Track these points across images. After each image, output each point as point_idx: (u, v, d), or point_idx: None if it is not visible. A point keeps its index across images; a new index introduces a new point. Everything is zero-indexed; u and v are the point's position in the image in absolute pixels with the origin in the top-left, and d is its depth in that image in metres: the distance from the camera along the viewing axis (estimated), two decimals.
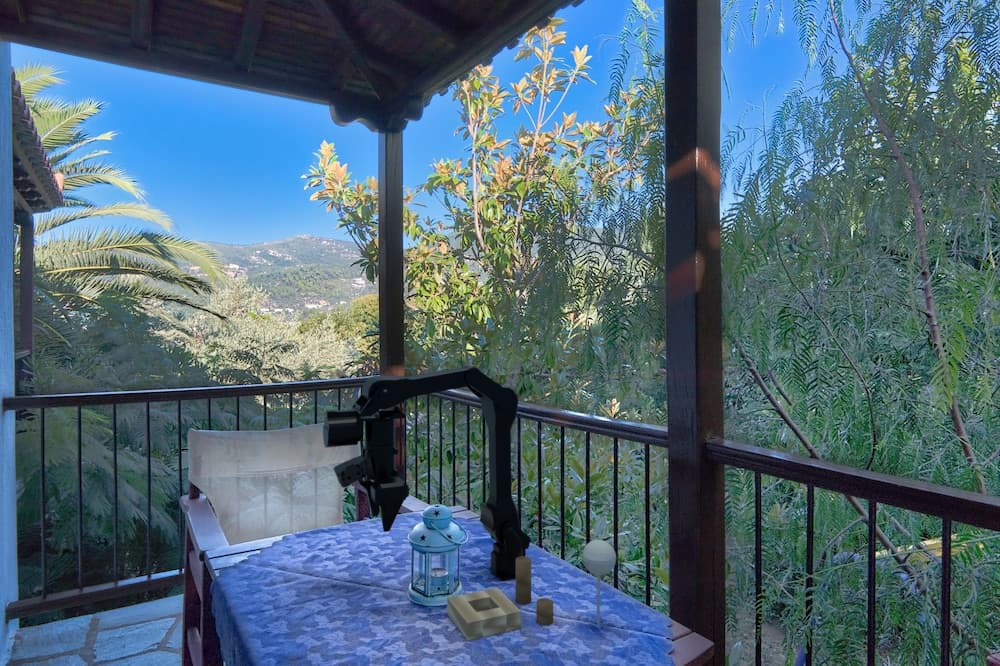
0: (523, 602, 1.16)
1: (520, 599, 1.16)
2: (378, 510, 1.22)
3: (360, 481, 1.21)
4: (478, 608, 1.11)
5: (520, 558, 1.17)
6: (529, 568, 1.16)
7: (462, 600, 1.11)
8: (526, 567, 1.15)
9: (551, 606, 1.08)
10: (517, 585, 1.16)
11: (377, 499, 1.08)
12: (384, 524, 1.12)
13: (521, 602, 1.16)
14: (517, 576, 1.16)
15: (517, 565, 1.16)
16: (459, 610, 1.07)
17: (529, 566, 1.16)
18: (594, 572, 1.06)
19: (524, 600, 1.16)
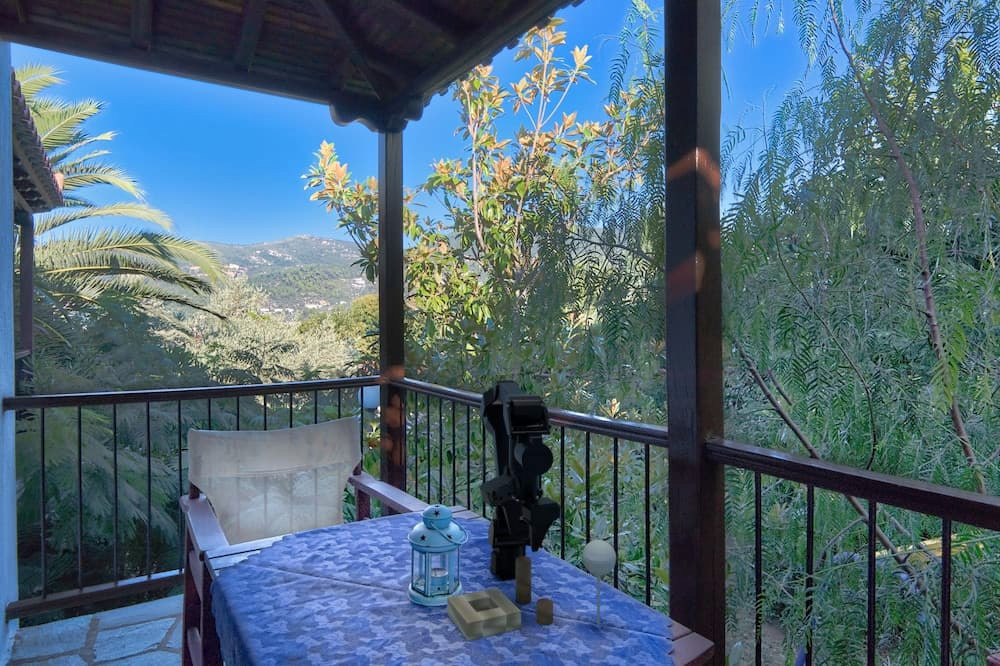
0: (523, 602, 1.16)
1: (520, 599, 1.16)
2: (516, 528, 1.21)
3: None
4: (478, 608, 1.11)
5: (520, 558, 1.17)
6: (529, 568, 1.16)
7: (462, 600, 1.11)
8: (526, 567, 1.15)
9: (551, 606, 1.08)
10: (517, 585, 1.16)
11: (533, 520, 1.07)
12: (533, 544, 1.12)
13: (521, 602, 1.16)
14: (517, 576, 1.16)
15: (517, 565, 1.16)
16: (459, 610, 1.07)
17: (529, 566, 1.16)
18: (594, 572, 1.06)
19: (524, 600, 1.16)
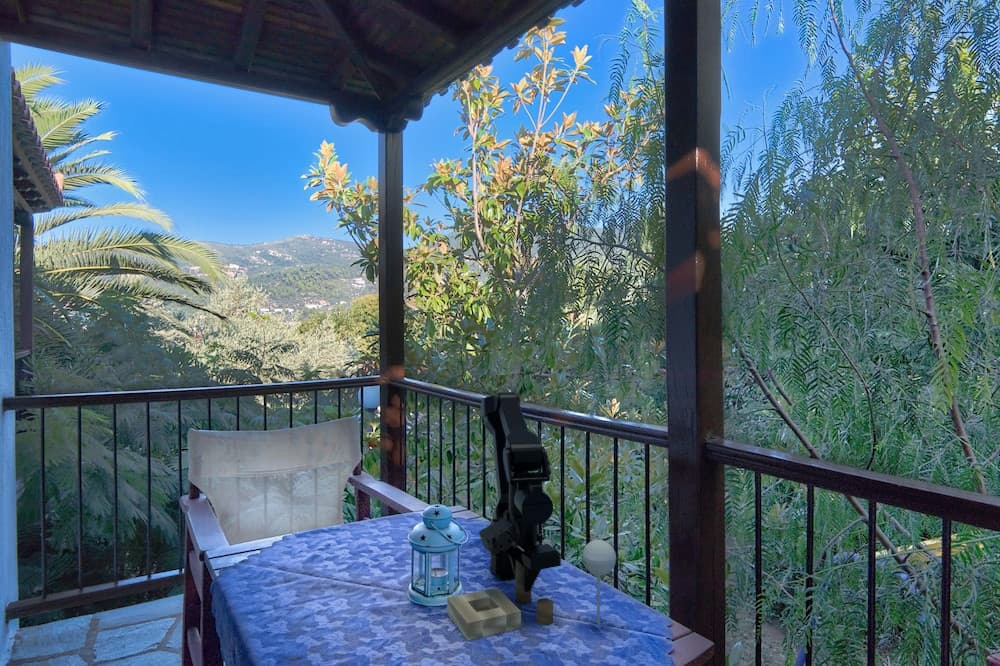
0: (523, 602, 1.15)
1: (520, 599, 1.16)
2: None
3: (504, 548, 1.18)
4: (478, 608, 1.11)
5: None
6: None
7: (462, 600, 1.11)
8: None
9: (551, 606, 1.08)
10: (517, 585, 1.16)
11: (533, 569, 1.07)
12: (526, 585, 1.15)
13: (521, 602, 1.16)
14: (517, 576, 1.16)
15: (517, 565, 1.16)
16: (459, 610, 1.07)
17: None
18: (594, 572, 1.06)
19: (524, 600, 1.16)
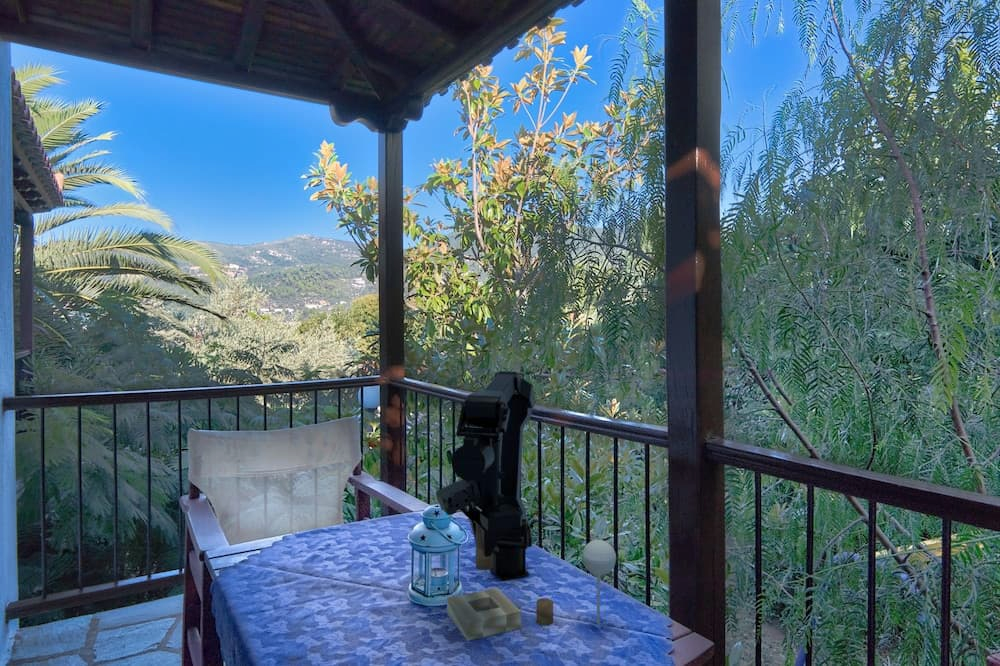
0: (483, 568, 1.07)
1: (480, 564, 1.08)
2: None
3: (464, 511, 1.10)
4: (478, 608, 1.11)
5: None
6: None
7: (462, 600, 1.11)
8: None
9: (551, 606, 1.08)
10: (477, 549, 1.08)
11: (491, 529, 0.99)
12: (486, 549, 1.06)
13: (481, 568, 1.07)
14: (477, 540, 1.08)
15: (477, 528, 1.08)
16: (459, 610, 1.07)
17: None
18: (594, 572, 1.06)
19: (484, 565, 1.07)
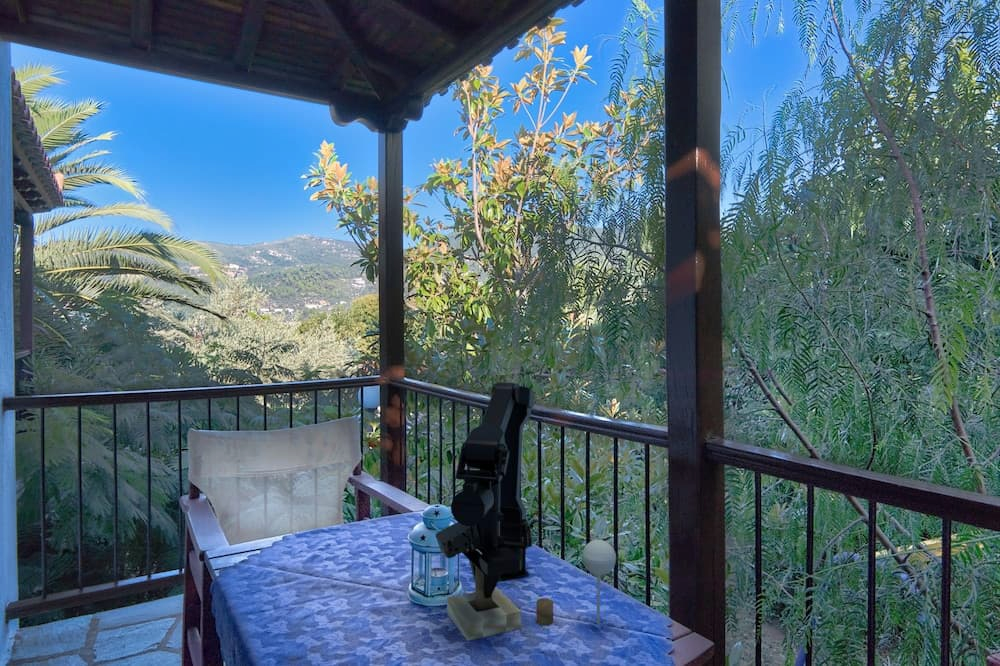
0: (483, 609, 1.08)
1: (480, 606, 1.08)
2: None
3: (464, 551, 1.10)
4: None
5: None
6: None
7: (462, 600, 1.11)
8: None
9: (551, 606, 1.08)
10: (477, 591, 1.08)
11: (490, 574, 0.99)
12: (485, 591, 1.07)
13: (481, 609, 1.08)
14: (477, 581, 1.08)
15: (477, 569, 1.08)
16: (459, 610, 1.07)
17: None
18: (594, 572, 1.06)
19: (484, 607, 1.08)
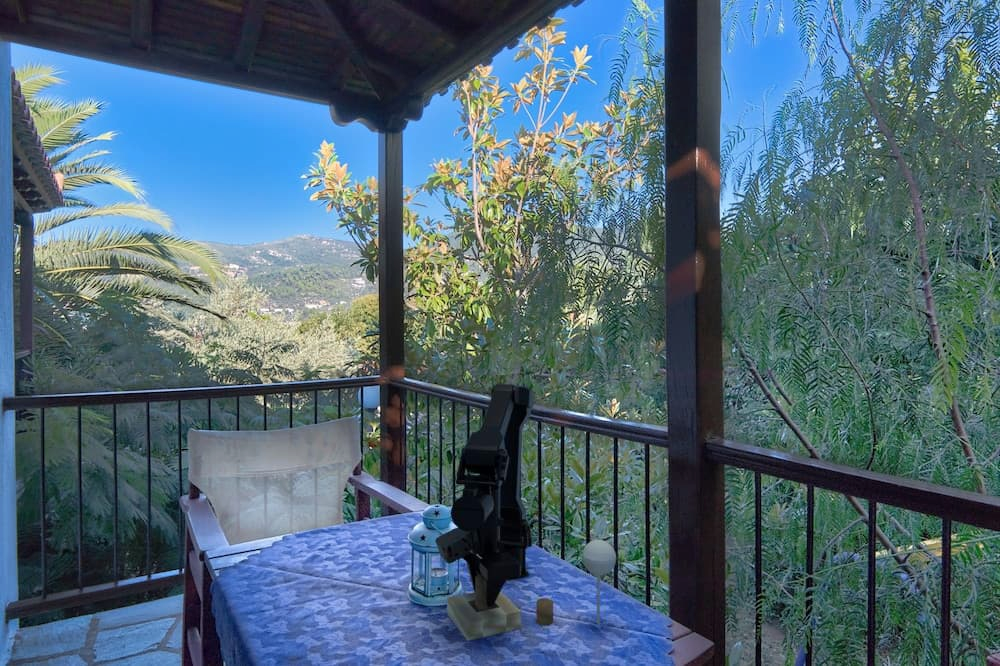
0: None
1: None
2: None
3: None
4: None
5: None
6: None
7: (462, 600, 1.11)
8: None
9: (551, 606, 1.08)
10: (477, 604, 1.08)
11: (490, 579, 0.99)
12: (488, 599, 1.06)
13: None
14: (477, 595, 1.08)
15: (477, 583, 1.08)
16: (459, 610, 1.07)
17: None
18: (594, 572, 1.06)
19: None
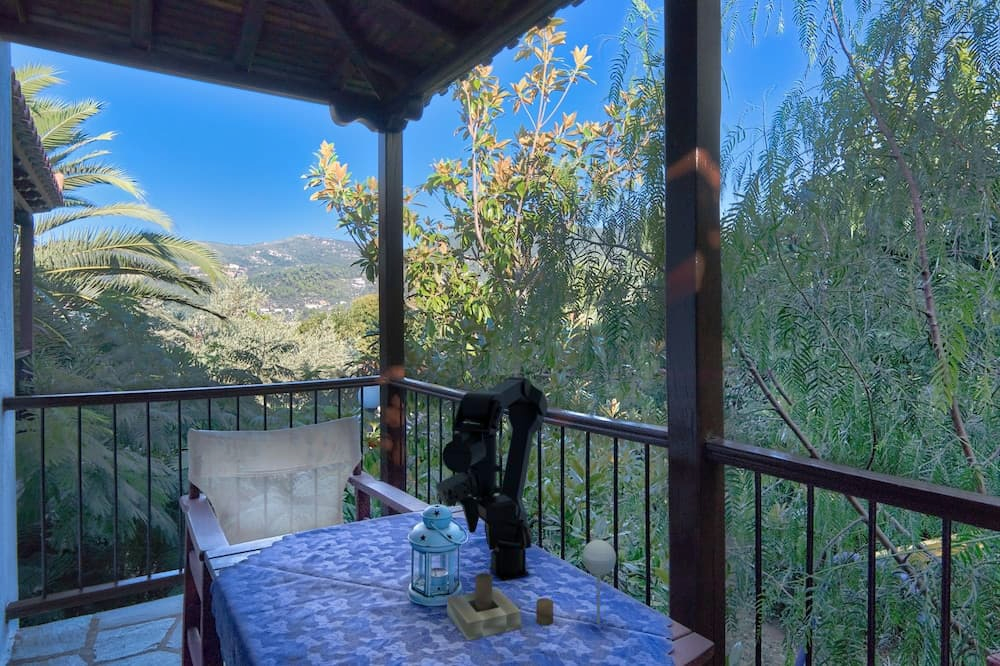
0: None
1: None
2: (475, 526, 1.20)
3: None
4: None
5: (480, 575, 1.09)
6: (490, 586, 1.08)
7: (462, 600, 1.11)
8: (486, 586, 1.08)
9: (551, 606, 1.08)
10: (477, 604, 1.08)
11: (488, 518, 1.06)
12: (490, 542, 1.11)
13: None
14: (477, 595, 1.08)
15: (477, 583, 1.08)
16: (459, 610, 1.07)
17: (489, 584, 1.08)
18: (594, 572, 1.06)
19: None
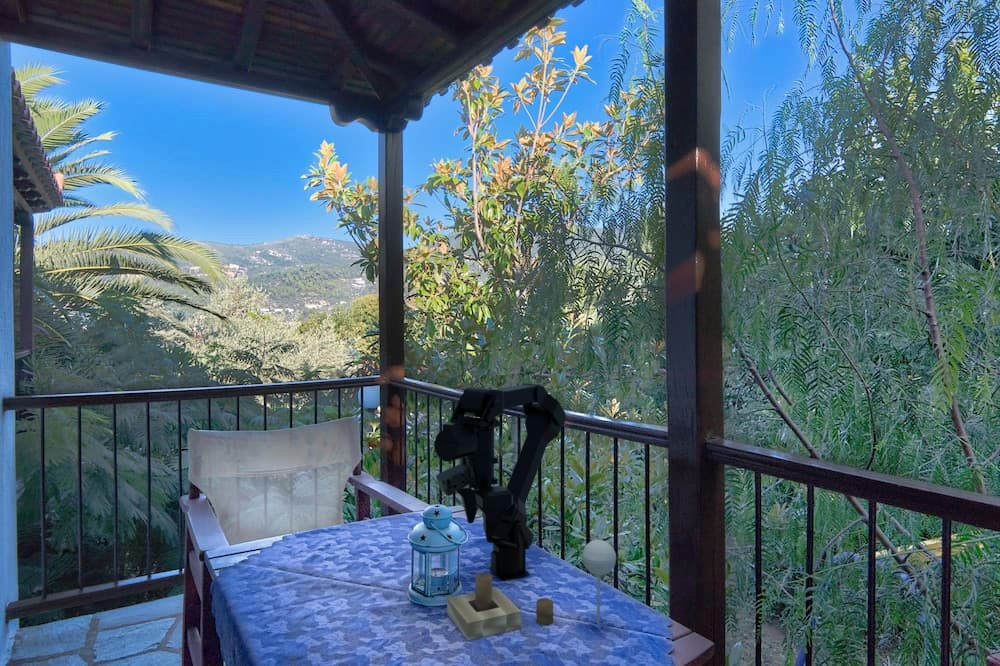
0: None
1: None
2: (473, 517, 1.25)
3: None
4: None
5: (480, 575, 1.09)
6: (490, 586, 1.08)
7: (462, 600, 1.11)
8: (486, 586, 1.08)
9: (551, 606, 1.08)
10: (477, 604, 1.08)
11: (485, 507, 1.11)
12: (487, 531, 1.16)
13: None
14: (477, 595, 1.08)
15: (477, 583, 1.08)
16: (459, 610, 1.07)
17: (489, 584, 1.08)
18: (594, 572, 1.06)
19: None
